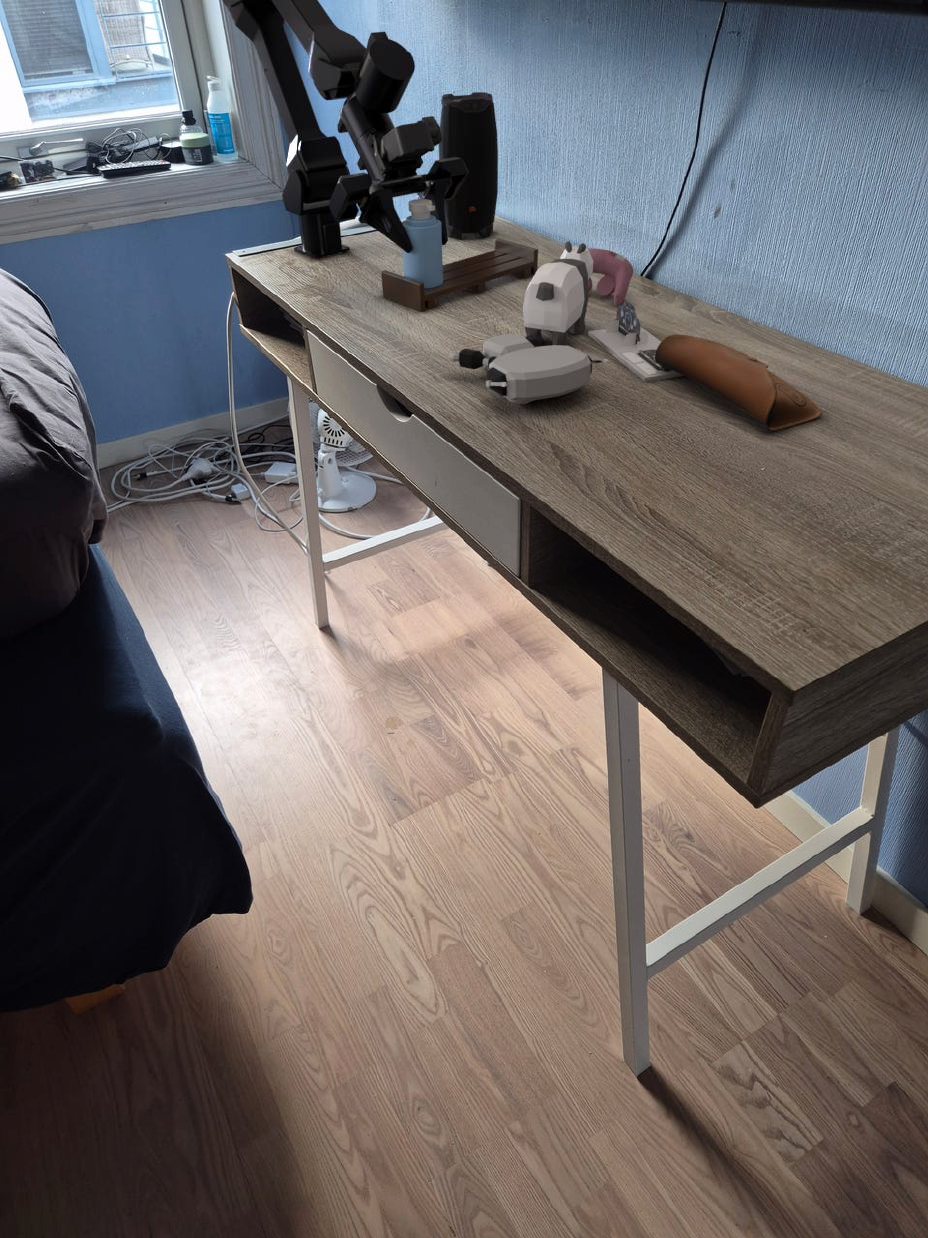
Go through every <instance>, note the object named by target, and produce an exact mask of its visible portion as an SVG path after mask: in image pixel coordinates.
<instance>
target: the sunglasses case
mask: <svg viewBox="0 0 928 1238" xmlns="http://www.w3.org/2000/svg"><path fill="white" fill-rule="evenodd" d="M655 361H656V362H657V363H658V364H660V365H663V366H665V367H667V368H669V369H671V370H674V371H675V372H677V373H681V374H682V375H683V376H682V377H686V378H688V379H692V380H693V381H694V382H696V383H697V384H699V385H701V386H702V387H703V388H704V389H707V390H708V391H711V392H712V393H714V394H715V395H718V396H720V397H721V398H722V399H724V400H725V401H726V402H727V403H729V404H732V405H733V406H735V407H737V409H740V410H742V411H743V412H745V413H746V414H748V415H750V416H751V417H752V418H754V419H755V420H757V421H758V422H760V423H761V424H764V425H765V426H766V427H767V428H768V429H769V431H770V432H778V431H782V430H787V429H791V428H794V427H797V426H800V425H803V424H805V423H808V422H811V421H813V420H816V419H819V418H820V417H821V416H822V415H823V412H822V410H821V409H820V408H819V407H818V406H817V404H816V403H815V402H814V401H813V400H811V398H809V396H807V395H806V394H804V393H803V392H801V391H800V390H799V389H797V388H796V387H795V386H793V385H792V384H790V383H788V382H787V381H786V380H784V379H782V378H781V377H779V376H778V375H776V374H775V373H773V372H771V371H770V370H768V368H769V365H768V364H766V363H764V362H761V361H760V360H758V359H757V358H756V357H754V356H751V355H749V354H748V353H745V352H743V351H740V350H738V349H735V348H733V347H730V346H728V345H726V344H724V343H721V342H717V341H715V340H711V339H708V338H704V337H699V336H695V335H689V334H671V335H668V336H666V337H664V338H663V339H662V341H661V343H660V344H659V346H658V348H657V350H656V353H655Z"/></svg>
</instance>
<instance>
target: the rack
mask: <svg viewBox="0 0 928 1238" xmlns="http://www.w3.org/2000/svg"><path fill="white" fill-rule="evenodd" d="M538 264H539V248H535V247H532V246H529V245H525V244H521V243H517V242H514V241H510V240H506V239H503V238H495V240H494V250H491V251H487V252H484V253H483V252H482V253H480V254H476V255H474V256H470V257H466V258H463V259H460V260H455V261H453V262H449V263H445V264H443V283H442V284H441V285H439V286H437V287H433V288H425V289H424V283H422V282H419V281H416V280H413V279H410V278H407V277H404V275H401V274H398V273H395V272H392V271H389V270H386V269H385V270H381V271H380V274H381V275H380V276H381V286H382V287H381V288H382V299H385V300H389V301H391V302H394V303H396V304H398V305H402V306H405V307H408V308H410V309H412V310H415V311H417V312H425V311H426V309H427V310H431V309H434V308H437V298H439V297H443V296H446V295H450V294H453V293H455V292H459V291H462V290H467V291H470V292H473V293H476V294H481V293H484V292H486V289H487V285H486V283H487V282H490V281H493V280H497V279H500V278H503V277H507V276H510V275H512V276H515V277H518V278H522V279H527V278H530V277H532V276H534V275H535V273H536V271H537V270H538V269H539V268H538V266H539V265H538Z"/></svg>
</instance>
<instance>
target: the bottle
mask: <svg viewBox="0 0 928 1238" xmlns="http://www.w3.org/2000/svg"><path fill="white" fill-rule="evenodd" d="M407 205H408V211H409V212H410V213H411V214H410V215H409V216H407V217H406V218H405V220H402V221H401V222H402V224H403V226H404V228H405V230H406V232H407V234H408V236H409V239H410V242H411V244H412V247H413V249H412V251H411V253H407V252H405V251H404V250H403V249H401V250H402V265H403V268H402V269H403V276H404V277H407V278H410V279H413V280H416V281H419V282H422V283H424V289H425V288H433V287H437V286H439V285H441V284H442V283H443V265H444V264H443V245H442V230H441V221H439V220H437V219H436V217H435V216H433V215H430V211H434V210H435V206H432V201H431V200H427V199H420V198H417V199H412V200H409V201H408V203H407Z"/></svg>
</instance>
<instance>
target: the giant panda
mask: <svg viewBox="0 0 928 1238" xmlns="http://www.w3.org/2000/svg"><path fill="white" fill-rule="evenodd" d="M588 249H589V248H587V245H586V244H585V243H584V242H582V243H579V246H572V243H571V242H570V241H569V240H568V241H567V242H565V243H564V250H563V252H562V253H561V255H560V257H559V258H555V259H554V260H552V261H549V262H547V263H544V264H542V265H541V266H539V268H537V271H536V273H535V275H533V277H532V279H530V282H529V283H528V285H527V287H526V290H525V293H524V299H523V305H522V319H523V326H524V330H525V332H526V337H527V336H529V335H537V336H539V337H540V340H541V344H543V342H544V337H543V334H542V330H543V331H550V333H551V336H552V344H551V345H561V346H569V341H568V333H570V334H573V335H579V334H581V333H583V332H584V331H585V329H586V315H587V310H588V309H587V308H588V303H589V298H590V292H589V285H588V279H589V278H591V277H592V274H594V273H593V259H592V257H591V255H590V252H589V250H588Z"/></svg>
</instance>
